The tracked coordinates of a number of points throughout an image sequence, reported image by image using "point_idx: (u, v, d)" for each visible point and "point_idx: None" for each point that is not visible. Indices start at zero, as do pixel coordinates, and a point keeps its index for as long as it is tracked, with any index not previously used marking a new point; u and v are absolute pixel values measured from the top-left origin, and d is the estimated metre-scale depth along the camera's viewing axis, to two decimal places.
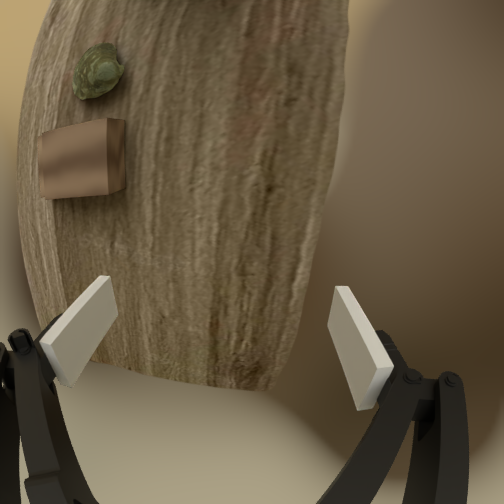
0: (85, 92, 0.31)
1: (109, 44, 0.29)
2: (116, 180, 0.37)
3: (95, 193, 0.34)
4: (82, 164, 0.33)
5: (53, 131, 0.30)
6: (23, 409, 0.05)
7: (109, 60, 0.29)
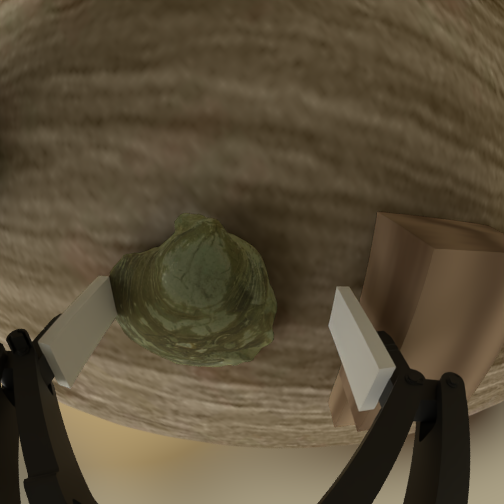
0: (255, 334, 0.15)
1: (111, 279, 0.15)
2: (503, 237, 0.12)
3: None
4: (483, 321, 0.11)
5: (374, 408, 0.13)
6: (22, 409, 0.05)
7: (158, 266, 0.12)
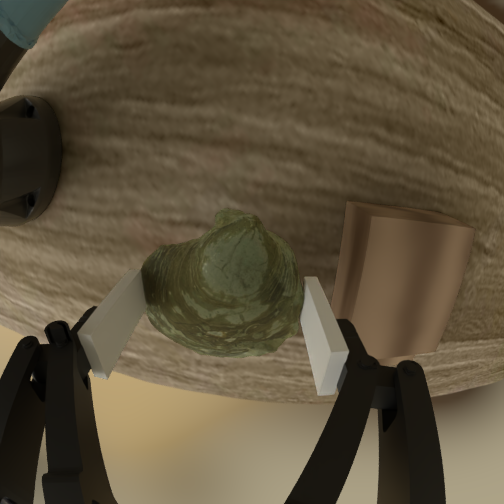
0: (282, 325, 0.16)
1: (144, 269, 0.16)
2: (445, 218, 0.20)
3: (468, 253, 0.19)
4: (426, 274, 0.19)
5: None
6: (52, 403, 0.06)
7: (198, 256, 0.13)
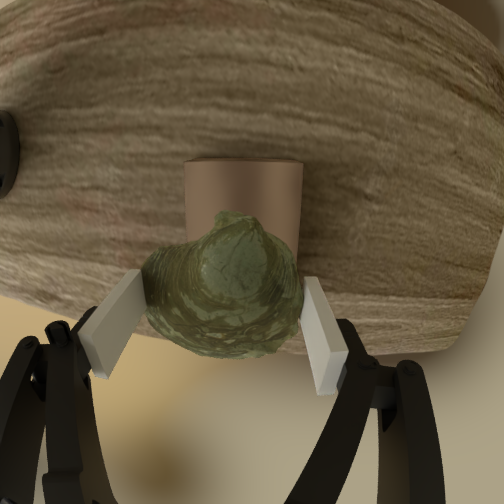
0: (281, 326, 0.16)
1: (143, 270, 0.16)
2: (282, 160, 0.27)
3: (298, 187, 0.25)
4: (250, 207, 0.26)
5: None
6: (52, 403, 0.06)
7: (197, 258, 0.13)
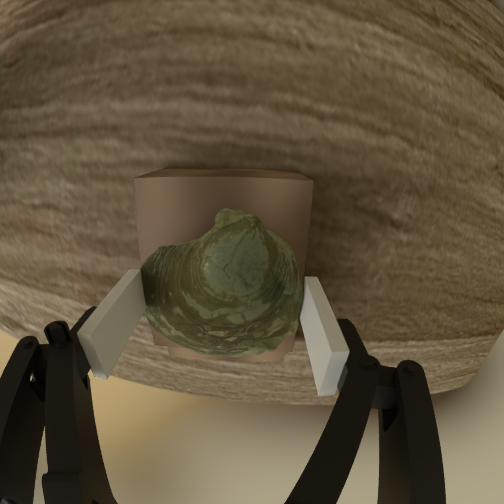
0: (282, 323, 0.16)
1: (143, 270, 0.16)
2: (281, 174, 0.19)
3: (305, 218, 0.17)
4: None
5: None
6: (52, 403, 0.06)
7: (199, 257, 0.13)
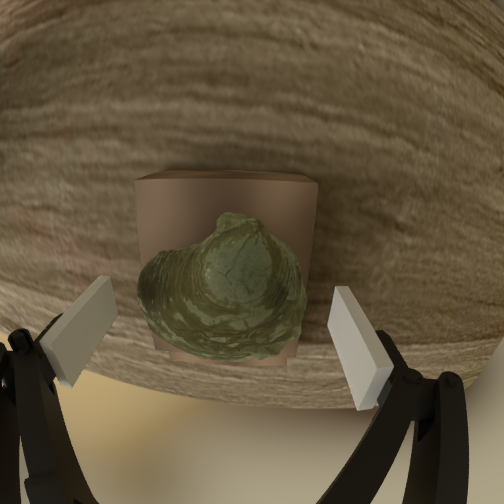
0: (285, 328, 0.16)
1: (143, 275, 0.16)
2: (285, 176, 0.18)
3: (310, 221, 0.16)
4: None
5: None
6: (23, 409, 0.05)
7: (200, 262, 0.13)
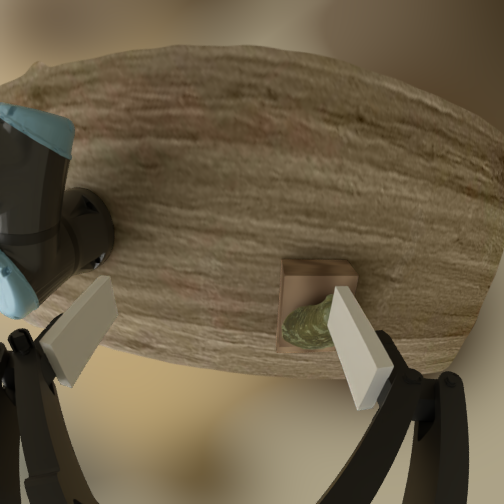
0: None
1: (290, 316, 0.39)
2: (343, 267, 0.41)
3: (354, 289, 0.39)
4: None
5: None
6: (23, 409, 0.05)
7: (321, 312, 0.36)
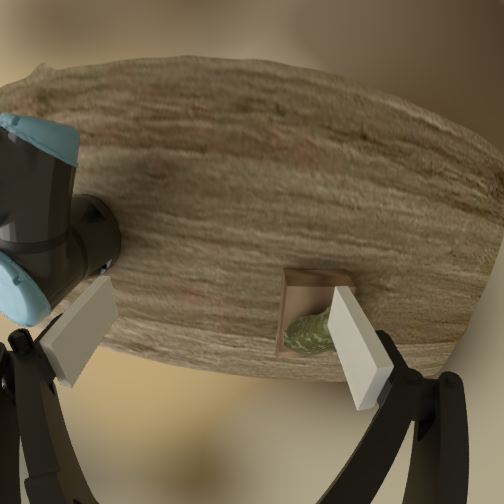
0: None
1: (292, 324, 0.41)
2: (341, 278, 0.43)
3: None
4: (323, 310, 0.42)
5: (282, 340, 0.44)
6: (23, 409, 0.05)
7: (322, 322, 0.38)
